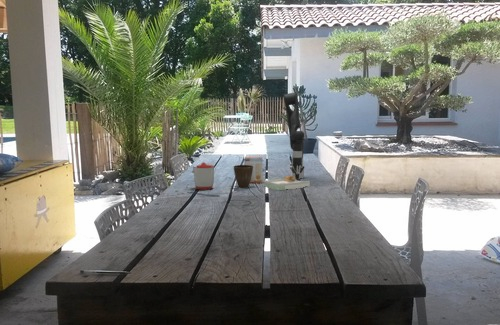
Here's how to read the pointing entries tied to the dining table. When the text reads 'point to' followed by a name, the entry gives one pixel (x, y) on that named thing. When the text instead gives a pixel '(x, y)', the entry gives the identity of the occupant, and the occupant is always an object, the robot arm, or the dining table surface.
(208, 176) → the citrus juicer
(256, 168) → the cracker box
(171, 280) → the dining table surface
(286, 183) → the box
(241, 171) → the plant pot
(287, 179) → the block
